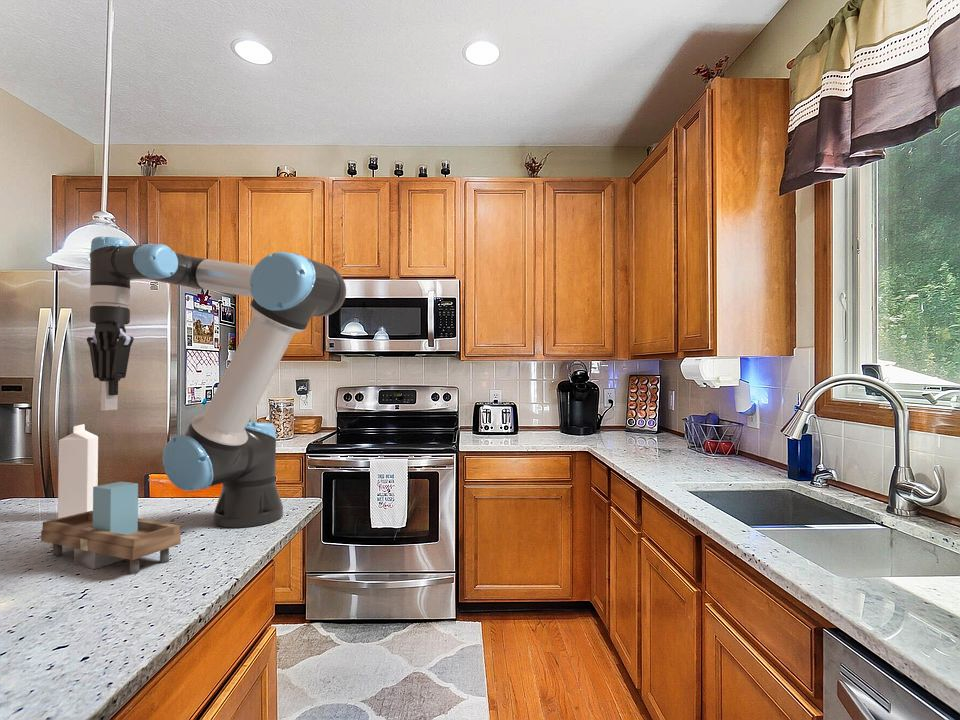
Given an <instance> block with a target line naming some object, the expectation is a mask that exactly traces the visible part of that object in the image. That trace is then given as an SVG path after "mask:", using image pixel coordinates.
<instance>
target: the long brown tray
mask: <svg viewBox="0 0 960 720" xmlns="http://www.w3.org/2000/svg"><path fill="white" fill-rule="evenodd" d="M180 528H181V527H180V525H178V524H173V523H166V522H161V521H157V520H156V521H155V520H148V519H142V518H138V531H137V532H133V533H130V534H127V535H126V534H120V533H115V532H109V531H104V530H98V529H96V528H93V511H88V512H84V513H80V514H76V515H71V516H67V517H63V518H59V519H58V518H55V519H51V520H46V521H42V529H41V531H40V535H41V536H40V541H41V542H43V543H50V544H52V557H53V556H57V557H61V556H63V547H66V548H72V549H73V565H74V564H76V565H75V566H78V565H80V567H83V566H84V568H87V567H88V568H89V569H93V570H96V569H100V568H103V567H106V566H109V565H112V564H114V563H117V562H118V563H119V562H120V561H121V562H122V561H123V560H129V575H135V574H138V572H139V573H140V558H144V557H146V556H148V555H149V556H150V555H153V554H155V553H158V552H159V563H160V564H165V563H168V562H170V548H173V547H176V546H178V545H181V541H182V540H181V534H182V533H181V529H180ZM60 555H61V556H60ZM102 566H103V567H102ZM88 568H87V569H88Z"/></svg>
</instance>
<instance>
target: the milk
mask: <svg viewBox="0 0 960 720" xmlns="http://www.w3.org/2000/svg"><path fill="white" fill-rule="evenodd" d="M85 426H86V425H85V423H83V424H77V425H74V426H73V430H72V433H70V434H68V435H66V436H64V437H63V438H60V439H59V440H58V472H57V473H58V478H57V479H58V480H57V481H58V484H57V485H58V486H57V494H58V495H57V519H59V518H63V517H67V516H71V515H76V514H80V513H84V512H88V511H93V487H95V486H99V485H98V484H99V483H98V482H99V481H98V477H99V475H98V474H99V472H98V471H99V468H98V467H99V436H98V435H96V434H95V433H91V432H89V431H88V430H86V429H85V428H86V427H85Z"/></svg>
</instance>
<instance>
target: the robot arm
mask: <svg viewBox="0 0 960 720" xmlns="http://www.w3.org/2000/svg"><path fill="white" fill-rule="evenodd" d="M90 242H91V243H90V252H89V264H90V265H89V267H90V268H89V269H90V270H89V272H90V273H89V280H90V281H89V282H90V283H89V285H90V286H89V304H90V305H92V306H90V307H89V323H92V324H95V328H94V335H92V336H88V337H86V342H87V344H88V348H89V353H90V359H91V368H92V373H93V375H92V376H93V379H98V380H99V382H100V411H114V410H116V411H117V410H118V397H119V396H118V395H119V381H120V380H121V379H125V378H126V377H127V370H128V365H129V358H130V354H131V353H130V352H131V347H132V344H133V343H134V340H135V338H134V336H129V335H128V334H127V329H126V327H125V325H129V324H130V322H131V310H130V309H129V307H130V305H131V304H130V303H131V292H130V291H131V281H134V280H149V281H155V282H160V283H164V284H171V285H177V286H182V287H186V288H191V289H195V290H207V291H210V292H211V291H213V292H219V293H224V294H231V295H236V296H237V295H238V296H243V297H249V298H252V300H251V302H250V304H249V305H250V309H251V311H252V314H253V316H252V318H251V320H250V322H249V324H248V326H247V328H246V330H245V331H244V334H243V336H242V338H241V340H240V342H239V343H238V346H237V348H236V349H235V352H234V353H233V356H232V357H231V360H230V361H229V364H228V366H227V368H226V369H225V372H224V374H223V375H222V377H221V380H220V382H219V384H218V386H217V387H216V390H215V391H214V394H213V396H212V397H211V399H210V402H209V403H208V406H207V408H206V409H205V411H204V413H202V414H201V413H200V414H197V415H195V416H193V418H192V420H191V422H190V424H188V425H189V426H188V427H187V429H186V431H185V433H184V434H179V435H176V436H174V437H173V438H170V440H169V441H168V442H166V444H165V447H164V448H163V452H162V465H163V468H164V472H165V474H166V477H167V478H168V480H169V481H170V482H171V483H172V484H173V485H174V486H175V487H177V488H178V489H180V490H182V491H188V492H192V491H197V490H206V489H208V488H209V487H210V488H211V487H214V486H217V485H220V484H222V486H221V487H222V488H221V491H220V494H219V496H218V500H217V502H216V506H215V508H214V511H213V524H214V525H216V526H218V527H224V528H248V527H250V528H251V527H257V526H261V525H266V524H270V523H273V522H275V521H278V520H280V519H282V517H283V516H284V504H283V502H282V499H281V496H280V493H279V491H278V487H277V484H276V471H277V470H276V464H277V463H276V462H277V461H276V458H277V457H276V456H277V455H276V452H277V449H276V448H277V435H276V427H275V425H274V424H273V423H270V422H256V421H255V422H253V421H250V420H251V418H252V416H253V415H254V413H255V410H256V409H257V406H258V404H259V403H260V401H261V399H262V397H263V395H264V393H265V391H266V389H267V388H268V386H269V384H270V381H271V379H272V378H273V376H274V373H275V372H276V370H277V368H278V367H279V364H280V362H281V360H282V359H283V356H284V354H285V353H286V350H287V349H288V347H289V345H290V343H291V341H292V339H293V337H294V336H295V334H297V333H301V332H304V331H306V329H307V327H308V325H309V323H310V321H311V319H312V317H327V316H330V315H332V314H334V313H335V312H337V311H338V310H339V309H340V308H341V307H342V306H343V304H344V303H345V300H346V295H347V286H346V283H345V281H344V277H342V274H340V273H339V271H337V270H336V269H335V268H333V266H330V265H328V264H325V263H322V262H318V261H316V260H313V259H311V258H308V257H306V256H304V255H301V254H299V253H290V252H287V251H279V252H274V253H269V254H268V255H266V256H264V257H262V259H260V260H259V261H258V262H257V264H256V265H253V264H246V263H239V262H233V261H232V262H231V261H224V260H217V259H209V258H203V257H196V256H191V255H187V254H184V253H180V252H175V251H174V250H172V249H171V248H170V247H169V246H168V245H166V244H163V243H160V244H159V243H158V244H157V243H147V244H146V243H145V244H137V245H136V244H135V245H131V243H130V241H128V240H126V239H124V238H119V237H114V236H96V237H94V238H92V240H91V241H90Z"/></svg>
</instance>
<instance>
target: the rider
mask: <svg viewBox="0 0 960 720" xmlns="http://www.w3.org/2000/svg"><path fill="white" fill-rule="evenodd" d="M138 510H139V483H137V482H135V483H134V482H129V481H128V482H127V481H116V482H111V483H106V484H100V485H98V486H95V487H93V528H96V529H98V530H104V531H109V532H115V533H120V534H126V535H127V534H130V533H133V532H137V531H138V519H139V517H138V516H139V513H138V512H139V511H138Z"/></svg>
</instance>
